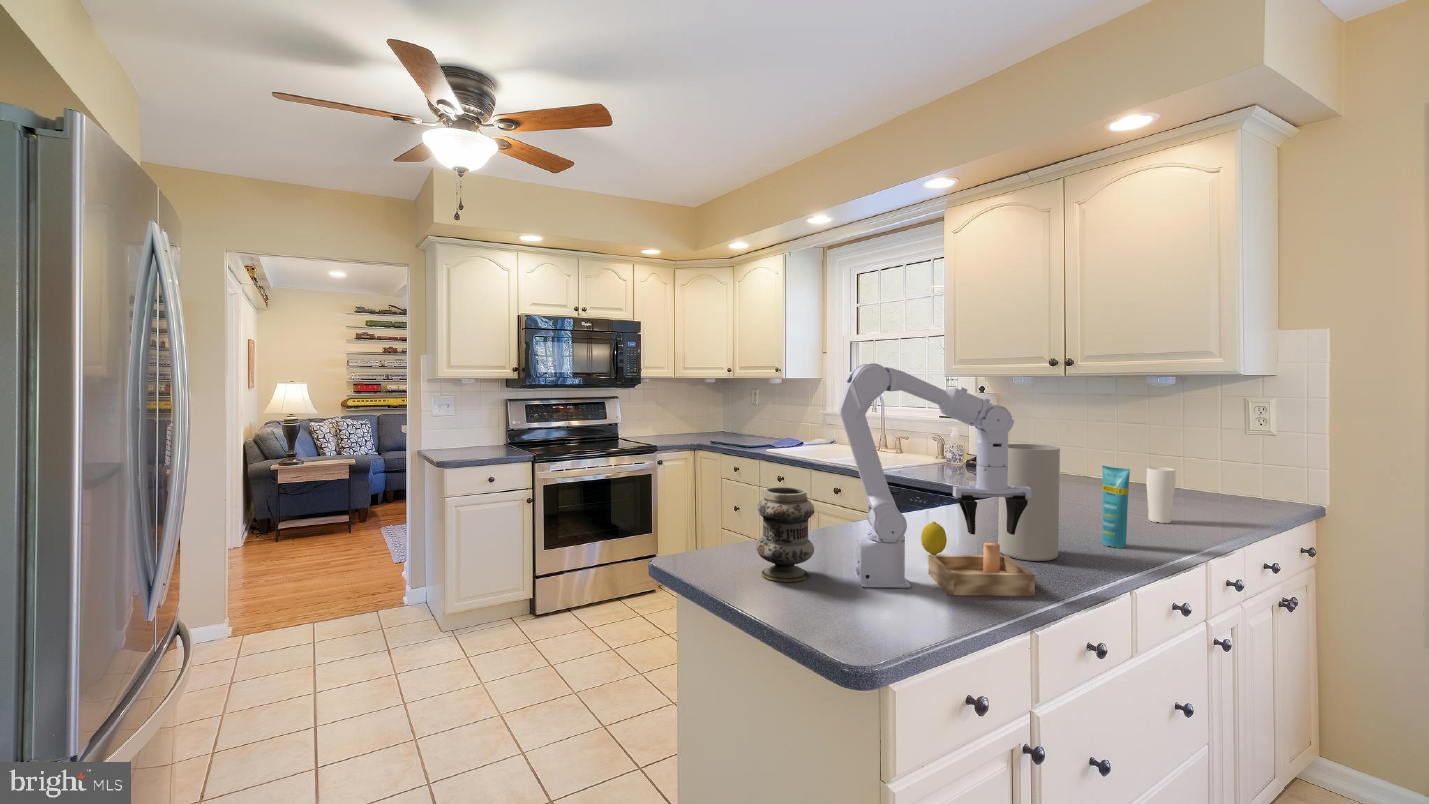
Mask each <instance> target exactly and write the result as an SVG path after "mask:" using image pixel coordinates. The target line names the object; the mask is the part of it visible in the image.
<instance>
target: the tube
mask: <svg viewBox="0 0 1429 804" xmlns="http://www.w3.org/2000/svg"><path fill="white" fill-rule="evenodd" d="M1101 467H1102V469H1101V470H1102V540H1101V541H1102V545H1103V544H1104V545H1103V546H1105V545H1108V546H1111V547H1110V548H1113V547H1116V548H1115V549H1123V548H1126V547H1127V535H1128V534H1127V530H1128V529H1127V528H1128V508H1129V507H1128V505H1129V489H1130V486H1129V485H1130V476H1131V475H1130V473H1131V468H1126V467H1125V468H1123V467H1115V466H1113V467H1112V466H1108V465H1103V464H1102V465H1101ZM1108 546H1107V547H1108Z"/></svg>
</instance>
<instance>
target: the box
mask: <svg viewBox="0 0 1429 804" xmlns="http://www.w3.org/2000/svg"><path fill="white" fill-rule="evenodd" d="M928 575H929V576H930V577H931V578H932V579H933V581H934V582H935V583H936V582H937V585H938V586H939V587H940V588H941V589H942V590H943V591H944V592H945V593H946V594H947V595H948V596H996V597H997V596H1000V597H1001V596H1002V597H1004V596H1007V597H1008V596H1009V597H1010V596H1011V597H1019V596H1021V597H1032V596H1033V597H1035V595H1036V594H1035V592H1036V591H1035V587H1036V586H1035V585H1036V584H1035V583H1036V581H1035V580H1036V574H1035V573H1033V572H1031V571H1030V570H1028V569H1027V568H1025V567H1024V566H1023V565H1021V564H1020V563H1018V562H1017V561H1015V560H1013V558H1012V557H1008V556H1006V555H1000V573H983V555H981V554H979V555H977V554H976V555H975V554H973V555H972V554H971V555H969V554H968V555H967V554H964V555H963V554H955V555H954V554H951V555H950V554H937V555H931V554H928Z"/></svg>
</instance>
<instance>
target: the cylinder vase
mask: <svg viewBox="0 0 1429 804" xmlns="http://www.w3.org/2000/svg"><path fill="white" fill-rule="evenodd" d="M1060 455H1061V447H1060V446H1059V447H1058V446H1055V445H1048V444H1047V445H1046V444H1037V443H1036V444H1032V443H1008V486H1020V487H1029V488H1031V498H1025V499H1027V500H1028V504H1027V506H1026V508H1025V509H1024V511H1023V512H1022V514H1021V516H1020V518H1019V521H1018V524H1017V527H1016V531H1015V535H1011V534H1009V533H1008V532H1007V508H1006V500H1005V497H998V524H997V525H998V526H997V527H998V529H997V530H998V531H997V532H998V533H997V536H998V537H997V544H999V545H1000V554H1002V555H1003V556H1008V557H1009V558H1011V559H1016V560H1020V561H1021V560H1022V561H1029V562H1046V561H1047V562H1049V561H1052V560H1055V559H1056V558H1058V556H1059V531H1060V530H1059V529H1060V528H1059V526H1060V525H1059V522H1060V467H1061V465H1060V464H1061V461H1060V460H1061V459H1060V458H1061V456H1060Z"/></svg>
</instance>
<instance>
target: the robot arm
mask: <svg viewBox="0 0 1429 804" xmlns="http://www.w3.org/2000/svg"><path fill="white" fill-rule="evenodd" d="M885 391H886V392H899V391H901V392H905V393H907V394H910V395H912V396H915V397H917V398H921V399H922V400H925V401H927V402H930V403H933V404H935V405H937V406H938V408H939V411H940V413H941V414H942V415H944V416H946V417H948V418H949V417H950V418H952V419H954V420H956V421H959V422H961V423H963V424H966V425H967V426H970V427H975V429H976V433H977V434H976V435H977V436H976V439H977V440H976V464H975V465H976V467H975V468H976V471H975V472H976V473H975V474H976V475H975V476H976V478H975V479H976V480H975V481H976V482H975V483H976V484H975V485H962V486H961V485H960V486H958V485H957V486H952V497H955V498H956V500H957V503H958V505H959V506H960V508H961V511H962V512H963V516H964V519H965V523H966V527H967V533H969V534H970V535H976V513H977V507H978V501H976V500H975V498H999V497H1005V500H1006V508H1007V532H1008V533H1009V534H1011V535H1015V531H1016V527H1017V524H1018V521H1019V518H1020V516H1021V514H1022V512H1023V511H1024V509H1025V508H1026V506H1027V504H1028V500H1027V499H1025V498H1031V488H1029V487H1020V486H1008V444H1009V432H1010V431H1011V430H1012V429H1013V426H1014V423H1015V420H1014V419H1013V417H1012V413H1011V412H1010V411H1009V409H1008V408H1007V407H1005V406H1002V405H998V404H993V403H992V402H991V403H990V401H991V399H990V398H987V397H983V398H981V397H978V396H976V395H974V394H971V393H969V392H968V389H967V388H965V387H962V386H959V388H957V387H951V388H949V389H947V390H944V389H943V388H940V387H938V386H936V385H933V384H932V383H930V382H928V381H925V380H923V379H920V378H919V377H916V376H914V375H912V374H909V373H907V372H906V371H903V370H900V369H897V368H893V367H889V366H885V367H884V366H882V365H881V364H879V363H872V362H871V363H863V364H861V365H860V364H859V365H858V366H856V367H855V368H854V370H853V371H852V372H851V374H850V375H849V377H848V378H847V379H846V383H845V388H844V391H843V395H842V399H841V402H840V406H839V409H838V410H839V416H840V418H841V422H842V425H843V428H844V431H845V433H846V438H847V440H848V443H849V446H850V449H851V453H852V455H853V459H854V462H855V465H856V469H857V471H858V474H859V477H860V480H861V484H862V487H863V491H864V493H865V499H866V503H867V508H868V510H867V521H868V524H869V525H870V526H871V527H872V528H870V530H869V532H868V533H867V536H866V537H860V538H857V539H856V543H855V544H856V545H855V577H856V579H857V581H858V582H859V584H860V585H861V587H862V588H898V589H899V588H900V589H901V588H903V589H905V588H907V589H909V588H911V587H912V585H911V583H909V581H908V580H907V578H906V577H905V574H906V572H905V571H906V570H905V569H906V565H905V564H906V563H905V562H906V561H905V560H906V558H905V557H906V554H905V553H906V536H905V534H906V532H907V528H908V522H907V520H906V518H905V516H904V514H903V513H901V512H900V511H899V509H898V507H897V504H896V502H895V499H894V496H893V495H892V492H891V490H890V488H889V485H888V482H887V481H888V480H887V479H886V474H885V472H884V469H883V466H882V463H881V460H880V456H879V454H878V452H877V451H878V450H877V447H876V444H875V442H874V438H873V435H872V432H871V429H870V426H869V423H868V420H867V416H866V414H867V412H868V411H869V409H870V407H871V406H872V404H873V403H874V401H875V400H876V399H877V398H879V397H880V396H882V394H883V393H885Z"/></svg>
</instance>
